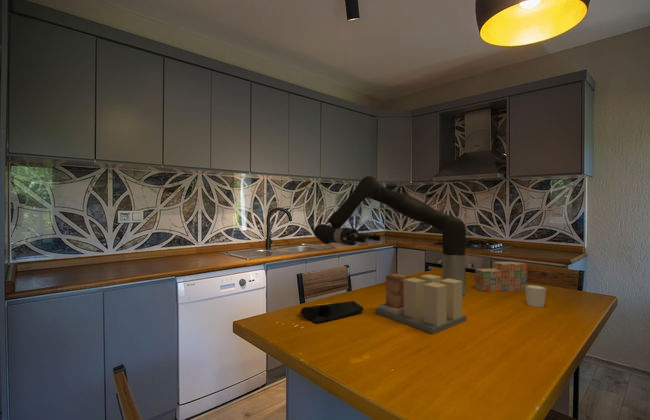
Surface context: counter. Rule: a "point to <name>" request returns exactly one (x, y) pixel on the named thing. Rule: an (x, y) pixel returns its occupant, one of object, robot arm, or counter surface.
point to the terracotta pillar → (395, 290)
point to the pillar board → (428, 304)
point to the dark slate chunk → (330, 311)
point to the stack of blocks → (502, 277)
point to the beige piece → (535, 295)
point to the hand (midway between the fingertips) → (372, 239)
